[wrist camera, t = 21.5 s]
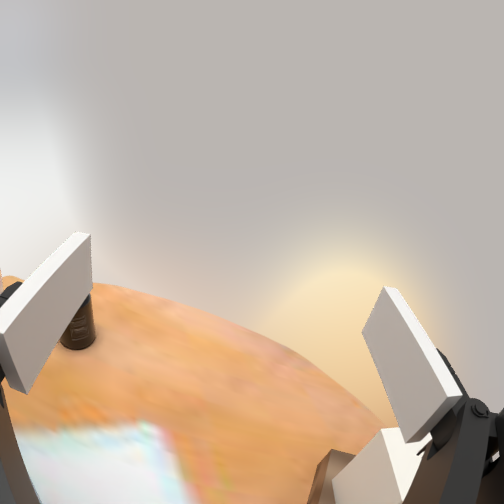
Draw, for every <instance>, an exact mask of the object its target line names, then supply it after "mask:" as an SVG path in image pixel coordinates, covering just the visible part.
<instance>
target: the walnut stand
mask: <svg viewBox="0 0 504 504" xmlns="http://www.w3.org/2000/svg"><path fill="white" fill-rule="evenodd" d="M355 456H356V455H353V454H349V453H345V452H341V451H337V450H333V449H331V450H330V452H329V453H328V454H327V455H326V456H325V457H324V459H323V460H322V461H321V462H320V463H319V464H318V466H317V470H316V473H315V477H314V481H313V484H312V488H311V492H310V495H309V499H308V502H307V504H336V503H335V497H334V491H333V485H332V479H333V478H334V477H335V476H336V475H337V474H338V473H339V472H340V471H342V470H343V469H344V468H345V467H346V466H347V465H348V464H349V463H350V462H351V461H352V460H353V459H354V458H355Z"/></svg>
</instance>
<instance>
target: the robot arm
mask: <svg viewBox="0 0 504 504" xmlns="http://www.w3.org/2000/svg"><path fill="white" fill-rule="evenodd" d="M90 237H91V236H90V234H86V233H81V232H74V233H73V234H72V235H71V236H70V237H69V238H68V239H67V240H66V241H65V242H64V243H63V244H61V245H60V246H59V247H58V249H56V250H55V251H54V252H53V253H52V254H51V255H50V256H49V257H48V258H47V259H46V260H45V261H44V262H43V263H42V264H41V265H40V266H39V267H38V268H37V269H36V270H35V271H34V272H33V273H32V274H31V275H30V276H29V277H28V278H27V279H26V280H25V282H24V283H22V282H16V283H14V284H12V285H10V286H9V287H7V288H6V289H5V290H4V291H3V292H2V293H1V294H0V504H42V503H41V500H40V498H39V496H38V494H37V492H36V490H35V487H34V485H33V483H32V481H31V479H30V476H29V474H28V472H27V470H26V467H25V465H24V462H23V459H22V456H21V453H20V450H19V447H18V444H17V441H16V438H15V434H14V431H13V427H12V424H11V420H10V416H9V412H8V408H7V404H6V400H5V395H4V391H3V388H2V385H1V382H2V380H3V379H4V377H6V379H7V381H8V384H9V386H10V387H11V388H13V389H15V390H18V391H20V392H22V393H24V394H27V395H28V393H29V391H30V389H31V387H32V385H33V383H34V382H35V380H36V378H37V376H38V374H39V373H40V371H41V369H42V367H43V366H44V364H45V362H46V361H47V359H48V357H49V355H50V354H51V352H52V350H53V349H54V347H55V345H56V344H57V342H58V340H59V339H60V337H61V336H62V334H63V332H64V331H65V329H66V328H67V326H68V324H69V323H70V321H71V320H72V318H73V317H74V315H75V314H76V312H77V311H78V309H79V307H80V306H81V304H82V303H83V301H84V300H85V299H86V297H87V296H88V294H89V293H90V291H91V290H92V288H93V285H92V268H91V241H90V240H91V238H90ZM362 334H363V337H364V339H365V341H366V344H367V346H368V349H369V351H370V353H371V356H372V358H373V361H374V363H375V366H376V368H377V370H378V373H379V375H380V378H381V380H382V383H383V385H384V388H385V391H386V393H387V396H388V398H389V401H390V404H391V406H392V409H393V411H394V414H395V417H396V419H397V422H398V425H399V428H400V430H401V433H402V436H403V439H404V442H405V444H406V443H413V442H420V441H421V440H422V439H423V438H424V437H425V436H426V435H427V434H428V433H429V432H430V434H431V436H432V439H431V440H430V441H429V442H428V443H427V444H426V445H425V446H424V447H423V448H422V449H421V450H420V451H419V452H418V453H417V454H416V455H417V456H419V455H420V454H421V453H422V452H424V451H425V452H424V454H423V456H422V457H421V458H422V459H421V462H420V464H419V467H418V469H417V472H416V474H415V477H414V479H413V481H412V484H411V486H410V488H409V490H408V492H407V495H406V497H405V499H404V501H403V503H402V504H504V408H503V410H502V411H501V412H500V413H499V414H497V413H492V412H490V411H489V409H488V407H487V406H486V405H485V404H484V403H483V402H482V401H480V400H478V399H475V398H469V396H468V394H467V393H466V391H465V389H464V387H463V385H462V384H461V382H460V380H459V378H458V377H457V375H456V374H455V371H454V370H453V368H452V367H451V365H450V363H449V362H448V360H447V358H446V357H445V356H444V355H443V354H442V353H441V352H440V351H439V350H438V349H437V348H435V346H434V345H433V343H432V342H431V340H430V338H429V337H428V335H427V334H426V332H425V330H424V329H423V327H422V326H421V324H420V323H419V321H418V319H417V318H416V317H415V315H414V313H413V312H412V310H411V309H410V307H409V306H408V304H407V303H406V301H405V300H404V298H403V297H402V295H401V294H400V293H399V291H398V290H397V288H391V287H385V286H384V287H383V289H382V291H381V293H380V295H379V297H378V300H377V302H376V304H375V306H374V308H373V310H372V312H371V314H370V317H369V318H368V320H367V322H366V325H365V327H364V329H363V331H362ZM498 451H499V455H500V457H499V458H497V459H496V460H495V461H494V462H493V460H492V456H493V455H494V454H496V453H497V452H498Z"/></svg>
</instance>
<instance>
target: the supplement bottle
mask: <svg viewBox="0 0 504 504" xmlns="http://www.w3.org/2000/svg"><path fill="white" fill-rule="evenodd" d="M94 338H95V327H94V319H93V310H92V301H91V295H90V293H89V294H88V296H87V297H86V299H85V300H84V301H83V303H82V304H81V306H80V307H79V309H78V311H77V312H76V314H75V315H74V317H73V318H72V320H71V321H70V323H69V324H68V326H67V328H66V329H65V331H64V332H63V334H62V336H61V337H60V341H61V342H62V344H64V345H65V346H66V347H69V348H72V349H81V348H85V347H87V346H88V345H90V344H91V343H92V342H93V340H94Z"/></svg>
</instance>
